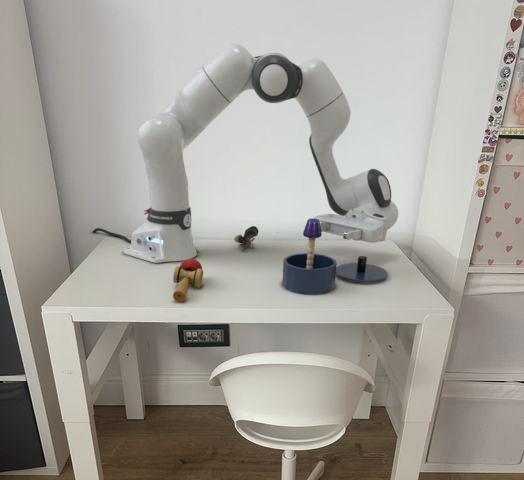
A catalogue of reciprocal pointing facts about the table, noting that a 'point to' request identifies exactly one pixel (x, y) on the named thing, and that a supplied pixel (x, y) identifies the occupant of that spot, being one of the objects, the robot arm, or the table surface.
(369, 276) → the lid
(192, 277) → the kendama
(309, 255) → the toy lamp
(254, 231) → the eagle figurine
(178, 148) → the robot arm
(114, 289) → the table surface
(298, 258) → the pot
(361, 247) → the table surface
